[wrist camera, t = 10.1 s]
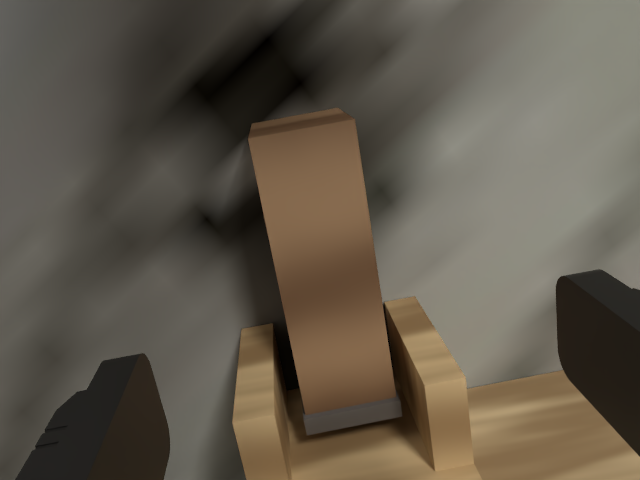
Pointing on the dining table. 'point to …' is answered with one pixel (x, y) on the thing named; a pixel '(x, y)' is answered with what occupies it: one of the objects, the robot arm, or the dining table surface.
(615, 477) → the light wood notched block
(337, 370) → the brown rectangular block
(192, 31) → the dining table surface
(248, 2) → the dining table surface
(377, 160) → the dining table surface
